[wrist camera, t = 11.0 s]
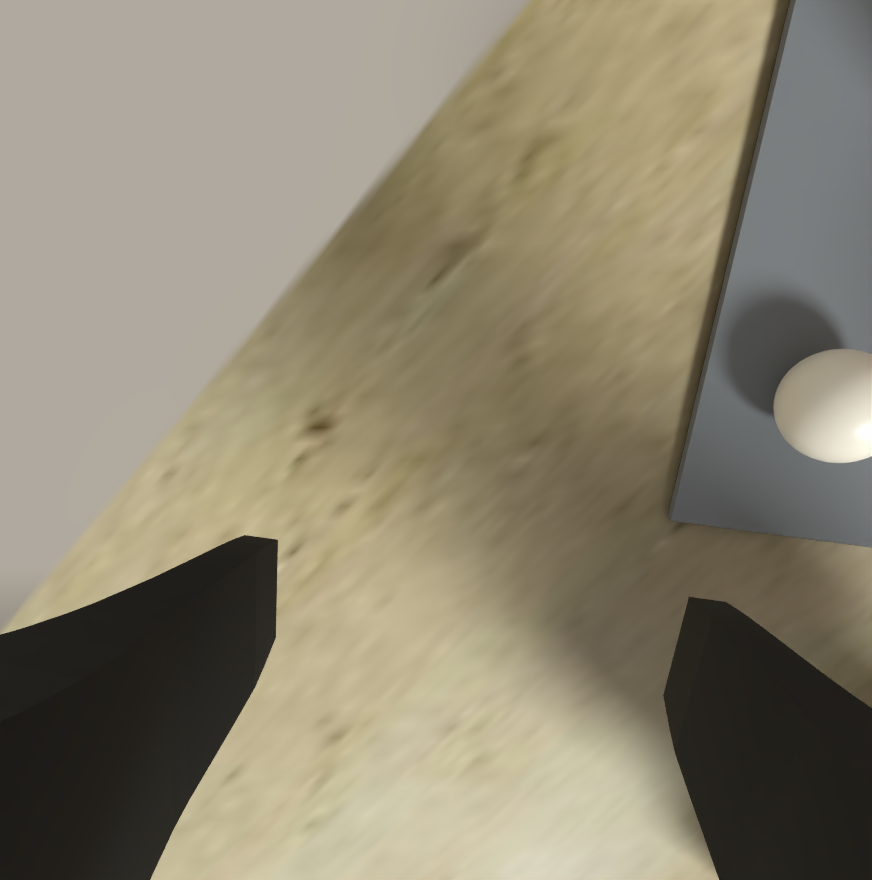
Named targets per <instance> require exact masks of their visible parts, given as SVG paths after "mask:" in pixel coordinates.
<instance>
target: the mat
mask: <svg viewBox="0 0 872 880" xmlns="http://www.w3.org/2000/svg"><path fill="white" fill-rule="evenodd" d="M832 349H854V350H859V351H864V352H867V353H870V354H872V0H790V3H789V7H788V11H787V15H786V19H785V24H784V28H783V32H782V36H781V40H780V45H779V49H778V53H777V57H776V62H775V66H774V70H773V74H772V78H771V83H770V87H769V91H768V95H767V99H766V104H765V108H764V112H763V116H762V121H761V125H760V129H759V133H758V137H757V142H756V146H755V150H754V154H753V159H752V163H751V167H750V171H749V175H748V180H747V184H746V188H745V192H744V196H743V201H742V205H741V209H740V213H739V218H738V222H737V226H736V230H735V234H734V239H733V243H732V247H731V251H730V255H729V260H728V264H727V268H726V272H725V277H724V281H723V285H722V289H721V293H720V298H719V302H718V306H717V310H716V314H715V319H714V323H713V327H712V331H711V336H710V340H709V344H708V348H707V352H706V357H705V361H704V365H703V369H702V374H701V378H700V382H699V386H698V390H697V395H696V399H695V403H694V407H693V411H692V416H691V420H690V424H689V428H688V433H687V437H686V441H685V445H684V449H683V454H682V458H681V462H680V466H679V470H678V475H677V479H676V483H675V487H674V492H673V496H672V500H671V504H670V508H669V513H668V517H669V519H670V520H671V521H675V522H682V523H690V524H697V525H705V526H713V527H720V528H728V529H735V530H743V531H751V532H758V533H766V534H773V535H781V536H789V537H796V538H804V539H811V540H819V541H827V542H834V543H842V544H850V545H857V546H865V547H872V456H871V457H869V458H866V459H863V460H859V461H855V462H849V463H829V462H824V461H819V460H816V459H813V458H810V457H808V456H806V455H804V454H802V453H800V452H799V451H797V450H796V449H794V448H793V447H792V446H791V445H790V444H789V443H788V442H787V441H786V440H785V439H784V437H783V436H782V434H781V433H780V431H779V429H778V427H777V425H776V422H775V418H774V410H773V405H774V397H775V393H776V391H777V388H778V386H779V384H780V382H781V380H782V379H783V377H784V376H785V375H786V374H787V372H788V371H789V370H790V369H791V368H792V367H793V366H795V365H796V364H797V363H799V362H800V361H802V360H803V359H805V358H807V357H809V356H811V355H813V354H816V353H819V352H822V351H827V350H832Z"/></svg>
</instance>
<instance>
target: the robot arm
mask: <svg viewBox="0 0 872 880" xmlns="http://www.w3.org/2000/svg"><path fill="white" fill-rule="evenodd" d="M277 553H278V540H275V539H268V538H261V537H253V536H246V535H244V536H241V537H239V538H236V539H234V540H231V541H229V542H227V543H225V544H222V545H220V546H218V547H216V548H214V549H212V550H210V551H208V552H206V553H204V554H202V555H199V556H197V557H195V558H193V559H191V560H189V561H187V562H185V563H183V564H181V565H179V566H177V567H175V568H172V569H170V570H168V571H166V572H164V573H162V574H160V575H158V576H156V577H154V578H151V579H149V580H147V581H144V582H142V583H140V584H138V585H135V586H133V587H131V588H128V589H126V590H124V591H121V592H119V593H117V594H114V595H112V596H110V597H107V598H105V599H103V600H101V601H98V602H96V603H93V604H91V605H88V606H85V607H83V608H80V609H77V610H75V611H72V612H69V613H67V614H64V615H61V616H58V617H55V618H52V619H49V620H46V621H43V622H40V623H37V624H34V625H31V626H28V627H25V628H22V629H19V630H16V631H12V632H9V633H5V634H1V635H0V880H150V879H151V876H152V874H153V872H154V870H155V868H156V866H157V864H158V861H159V859H160V857H161V855H162V853H163V851H164V849H165V846H166V844H167V842H168V840H169V838H170V836H171V833H172V831H173V829H174V827H175V826H176V824H177V822H178V820H179V818H180V816H181V814H182V812H183V811H184V809H185V807H186V805H187V803H188V801H189V799H190V798H191V796H192V794H193V793H194V791H195V789H196V788H197V786H198V784H199V782H200V781H201V779H202V777H203V776H204V774H205V772H206V771H207V769H208V767H209V765H210V764H211V762H212V760H213V759H214V757H215V755H216V754H217V752H218V750H219V748H220V747H221V745H222V743H223V742H224V740H225V738H226V737H227V735H228V733H229V731H230V730H231V728H232V726H233V725H234V723H235V721H236V719H237V718H238V716H239V714H240V713H241V711H242V709H243V707H244V706H245V704H246V702H247V700H248V699H249V697H250V695H251V693H252V692H253V690H254V688H255V686H256V684H257V681H258V679H259V677H260V674H261V672H262V670H263V668H264V665H265V663H266V660H267V658H268V655H269V653H270V650H271V648H272V645H273V643H274V640H275V638H276V599H277ZM663 696H664V701H665V706H666V712H667V717H668V722H669V727H670V732H671V737H672V741H673V746H674V750H675V754H676V757H677V760H678V763H679V766H680V769H681V772H682V775H683V778H684V781H685V783H686V786H687V789H688V792H689V795H690V798H691V801H692V804H693V807H694V809H695V812H696V815H697V818H698V821H699V824H700V826H701V829H702V832H703V835H704V838H705V841H706V843H707V846H708V849H709V852H710V855H711V858H712V860H713V863H714V866H715V869H716V872H717V875H718V877H719V880H872V708H870V707H869V706H868V705H866V704H865V703H863V702H862V701H860V700H859V699H857V698H856V697H855V696H853V695H852V694H850V693H849V692H848V691H846V690H845V689H843V688H842V687H841V686H839V685H838V684H837V683H835V682H834V681H832V680H831V679H830V678H828V677H827V676H826V675H824V674H823V673H822V672H820V671H819V670H818V669H816V668H815V667H814V666H812V665H811V664H810V663H808V662H807V661H806V660H804V659H803V658H802V657H800V656H799V655H798V654H797V653H795V652H794V651H793V650H791V649H790V648H789V647H787V646H786V645H785V644H783V643H782V642H781V641H780V640H778V639H777V638H776V637H774V636H773V635H772V634H770V633H769V632H768V631H766V630H765V629H764V628H762V627H761V626H760V625H758V624H757V623H756V622H754V621H753V620H752V619H750V618H749V617H748V616H746V615H745V614H743V613H742V612H741V611H739V610H738V609H736V608H735V607H733V606H731V605H730V604H728V603H726V602H721V601H714V600H707V599H700V598H692V597H689V599H688V603H687V607H686V611H685V615H684V619H683V622H682V626H681V630H680V634H679V638H678V642H677V645H676V649H675V653H674V657H673V661H672V665H671V668H670V672H669V676H668V680H667V684H666V688H665V691H664V695H663Z"/></svg>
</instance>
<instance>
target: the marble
mask: <svg viewBox="0 0 872 880" xmlns="http://www.w3.org/2000/svg"><path fill="white" fill-rule="evenodd" d="M773 410H774V418H775V422H776V425H777V427H778V429H779V431H780V433H781V434H782V436H783V437H784V439H785V440H786V441H787V442H788V443H789V444H790V445H791V446H792V447H793V448H794V449H796V450H797V451H799V452H800V453H802V454H804V455H806V456H808V457H810V458H813V459H816V460H819V461H824V462H829V463H849V462H855V461H859V460H863V459H866V458H869V457H871V456H872V354H870V353H867V352H864V351H859V350H854V349H832V350H827V351H822V352H819V353H816V354H813V355H811V356H809V357H807V358H805V359H803V360H802V361H800V362H799V363H797V364H796V365H795V366H793V367H792V368H791V369H790V370H789V371H788V372H787V374H786V375H785V376H784V377H783V379H782V380H781V382H780V384H779V386H778V388H777V391H776V393H775V397H774V405H773Z"/></svg>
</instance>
